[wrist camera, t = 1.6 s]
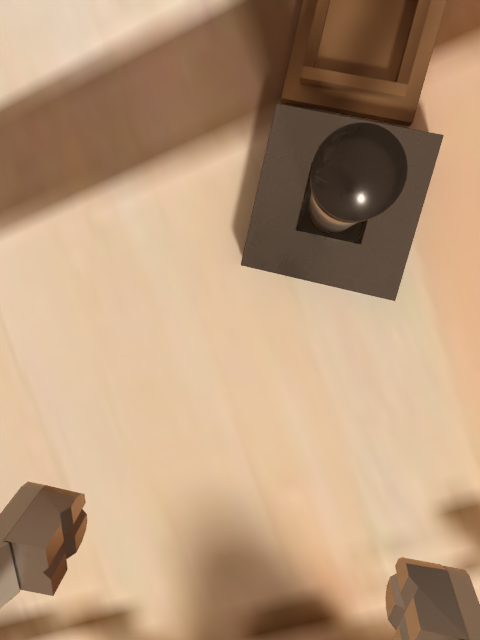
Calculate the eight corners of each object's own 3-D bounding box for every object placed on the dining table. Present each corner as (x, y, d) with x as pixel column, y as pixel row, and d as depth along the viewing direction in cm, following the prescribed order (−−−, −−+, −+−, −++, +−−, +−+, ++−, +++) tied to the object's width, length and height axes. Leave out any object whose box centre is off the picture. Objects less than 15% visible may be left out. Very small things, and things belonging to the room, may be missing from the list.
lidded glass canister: (300, 229, 34) (300, 209, 20) (313, 174, 33) (324, 114, 19) (353, 240, 33) (392, 229, 20) (368, 185, 32) (419, 132, 19)
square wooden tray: (281, 101, 32) (280, 91, 31) (313, -40, 31) (313, -60, 29) (409, 126, 31) (416, 117, 30) (450, -19, 30) (460, -39, 28)
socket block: (244, 264, 35) (240, 265, 32) (278, 115, 33) (276, 103, 30) (387, 297, 34) (394, 300, 31) (432, 144, 31) (443, 135, 29)
